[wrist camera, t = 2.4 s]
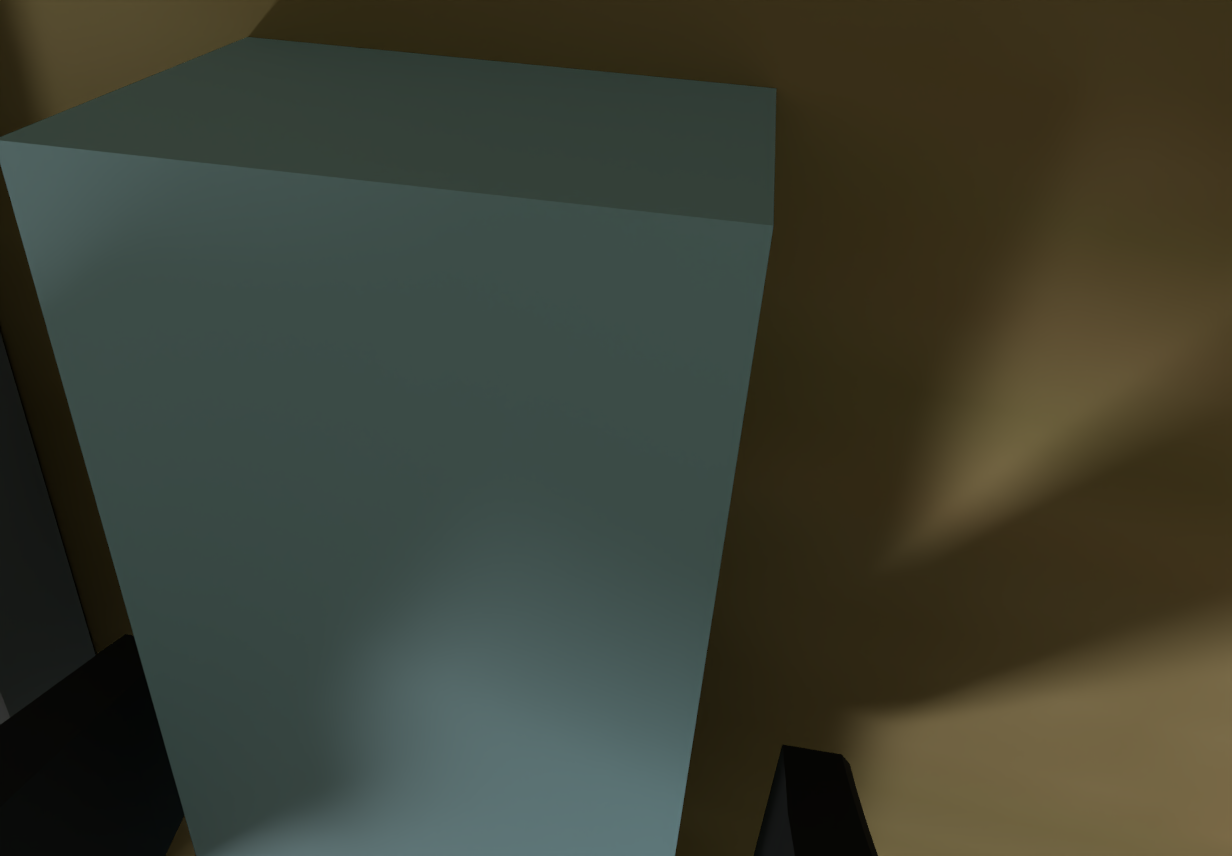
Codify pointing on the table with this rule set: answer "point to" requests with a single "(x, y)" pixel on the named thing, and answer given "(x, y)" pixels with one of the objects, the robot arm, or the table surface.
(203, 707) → the teal rectangular block
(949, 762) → the table surface
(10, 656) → the peg stand
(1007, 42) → the table surface
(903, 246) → the table surface
